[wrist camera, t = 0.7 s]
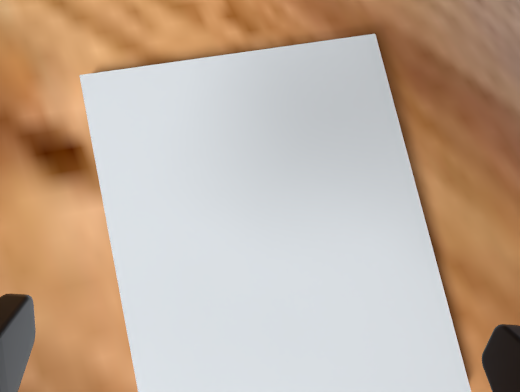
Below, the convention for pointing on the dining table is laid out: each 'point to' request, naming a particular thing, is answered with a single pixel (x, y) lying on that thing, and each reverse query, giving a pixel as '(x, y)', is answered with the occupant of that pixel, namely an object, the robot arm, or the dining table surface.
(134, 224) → the ceramic tile
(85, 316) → the dining table surface
